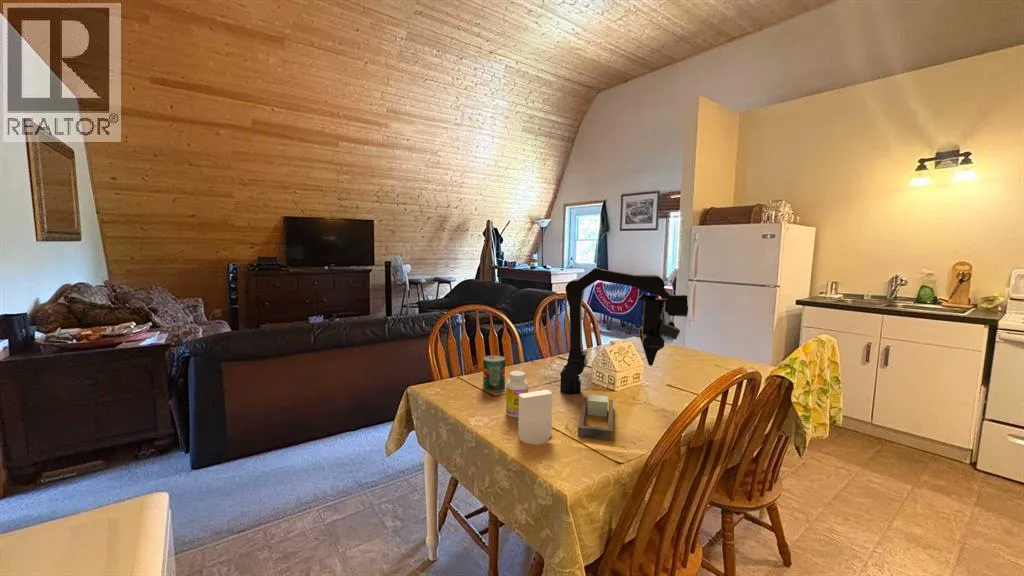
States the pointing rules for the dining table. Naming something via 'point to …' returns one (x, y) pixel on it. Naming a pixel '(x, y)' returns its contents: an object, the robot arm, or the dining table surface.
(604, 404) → the block
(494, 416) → the dining table surface
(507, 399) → the supplement bottle
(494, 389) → the canned tomato
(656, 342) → the robot arm
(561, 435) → the dining table surface
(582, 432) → the chute
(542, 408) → the cylinder with rectangular tab
